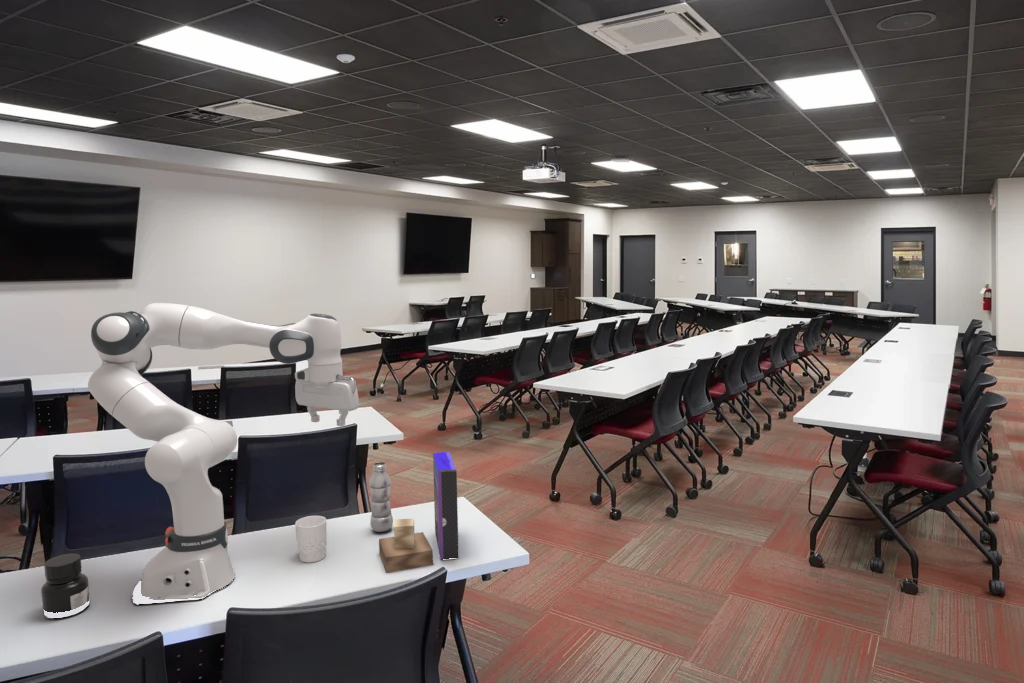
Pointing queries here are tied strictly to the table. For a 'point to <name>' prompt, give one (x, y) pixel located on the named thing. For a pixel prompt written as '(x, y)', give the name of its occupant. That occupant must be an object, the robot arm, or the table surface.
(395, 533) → the maple block
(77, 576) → the ink bottle
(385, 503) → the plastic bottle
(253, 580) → the table surface
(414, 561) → the walnut base
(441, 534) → the cereal box
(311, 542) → the white cup
